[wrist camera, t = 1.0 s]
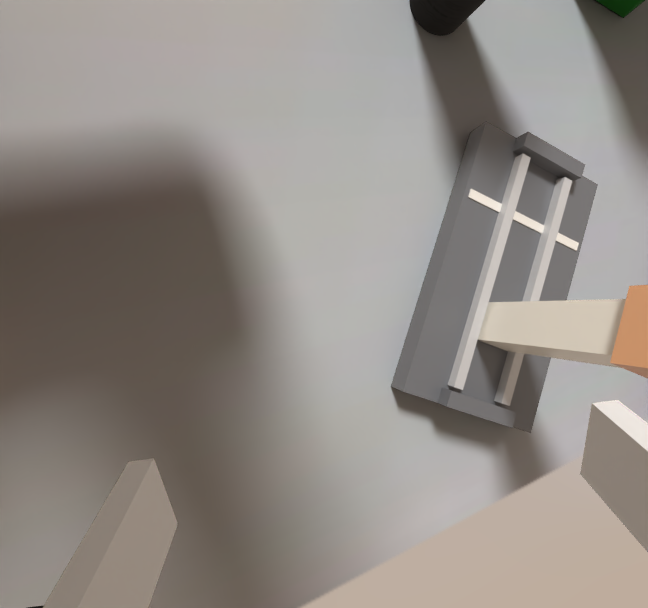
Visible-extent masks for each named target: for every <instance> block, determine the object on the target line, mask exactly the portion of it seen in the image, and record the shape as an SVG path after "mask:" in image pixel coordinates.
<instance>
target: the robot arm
mask: <svg viewBox="0 0 648 608" xmlns="http://www.w3.org/2000/svg"><path fill="white" fill-rule="evenodd" d="M580 474H581V475H582V477H583V478H584V479H585V480H586V481H587V482H588V484H589V485H590V486H591V487H592V488H593V489H594V490H595V492H596V493H597V494H598V495H599V496H600V497H601V498H602V500H603V501H604V502H605V503H606V504H607V506H608V507H609V508H610V509H611V510H612V511H613V512H614V514H615V515H616V516H617V517H618V518H619V519H620V521H621V522H622V523H623V524H624V525H625V526H626V527H627V529H628V530H629V531H630V532H631V533H632V535H633V536H634V537H635V538H636V539H637V540H638V542H639V543H640V544H641V545H642V546H643V547H644V548H645V550H647V552H648V423H646V422H645V421H644V420H643V419H641V418H640V417H639V416H638V415H636V414H635V413H634V412H632V411H631V410H630V409H629V408H627V407H626V406H625V405H623V404H622V403H621V402H620V401H618V400H613V401H606V402H598V403H592V406H591V412H590V418H589V424H588V430H587V436H586V442H585V448H584V454H583V461H582V467H581V473H580ZM177 526H178V523H177V520H176V517H175V515H174V512H173V509H172V506H171V504H170V501H169V498H168V495H167V493H166V490H165V487H164V484H163V482H162V479H161V476H160V473H159V471H158V468H157V465H156V462H155V460H154V458H152V459H144V460H136V461H129V462H128V463H127V465H126V467H125V468H124V470H123V472H122V474H121V475H120V477H119V479H118V480H117V482H116V484H115V486H114V487H113V489H112V491H111V492H110V494H109V496H108V497H107V499H106V501H105V503H104V504H103V506H102V508H101V509H100V511H99V513H98V514H97V516H96V518H95V520H94V521H93V523H92V525H91V526H90V528H89V530H88V531H87V533H86V535H85V537H84V538H83V540H82V542H81V543H80V545H79V547H78V548H77V550H76V552H75V554H74V555H73V557H72V559H71V560H70V562H69V564H68V566H67V567H66V569H65V571H64V572H63V574H62V576H61V577H60V579H59V581H58V583H57V584H56V586H55V588H54V589H53V591H52V593H51V594H50V596H49V598H48V600H47V601H46V603H45V605H44V606H36V607H28V608H149V605H150V602H151V599H152V597H153V594H154V591H155V588H156V585H157V582H158V580H159V577H160V574H161V571H162V568H163V565H164V562H165V560H166V557H167V554H168V551H169V548H170V545H171V543H172V540H173V537H174V534H175V531H176V528H177Z"/></svg>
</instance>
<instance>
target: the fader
mask: <svg viewBox="0 0 648 608" xmlns="http://www.w3.org/2000/svg"><path fill="white" fill-rule="evenodd" d="M478 340H479V341H482V342H485V343H487V344H490V345H492V346H495V347H498V348H500V349H503V350H505V351H510V352H517V353H523V354H530V355H537V356H544V357H551V358H557V359H564V360H571V361H578V362H585V363H592V364H598V365H605V366H612V367H619V368H624V369H626V370H629V371H631V372H633V373H636V374H638V375H641V376H643V377H646V378H648V285H638V286H629V290H628V294H627V298H626V299H605V300H563V301H521V302H489V303H488V306H487V309H486V313H485V316H484V320H483V323H482V326H481V330H480V333H479V337H478Z"/></svg>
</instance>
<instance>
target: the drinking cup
mask: <svg viewBox="0 0 648 608" xmlns="http://www.w3.org/2000/svg"><path fill="white" fill-rule="evenodd" d="M484 1H485V0H410V6H411V10H412V13H413V15H414V17H415V19H416V20H417V22H418V23H419V24H420V25H421V26H422V27H423V28H424V29H425V30H427V31H428V32H430V33H432V34H435V35H447V34H450V33H452V32H453V31H454V30H455V29H456V28H458V27H459V26H460V25H461V24H462V23H463V22H464V21H465V20H466V19H467V18H468V17H469V16H470V15H471V14H472V13H473V12H474V11H475V10H476V9H477V8H478V7H479V6H480V5H481V4H482V3H483V2H484Z"/></svg>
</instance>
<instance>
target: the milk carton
mask: <svg viewBox="0 0 648 608" xmlns="http://www.w3.org/2000/svg"><path fill="white" fill-rule="evenodd" d="M596 1H597V2H599V3H600V4H602V5H604V6H605V7H607V8H608V9H610V10H612V11H613V12H615V13H617V14H618V15H620V16H621V17H623V18H624V17H625V16H626V15H627V14H629V13H630V12H631V11H632V10H634V9H635V8H636V7H637V6H639V5H640V4H641V3H642V2H643V1H645V0H596Z"/></svg>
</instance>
